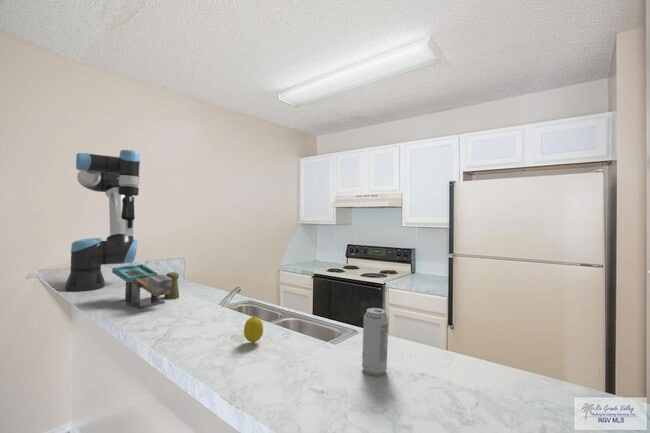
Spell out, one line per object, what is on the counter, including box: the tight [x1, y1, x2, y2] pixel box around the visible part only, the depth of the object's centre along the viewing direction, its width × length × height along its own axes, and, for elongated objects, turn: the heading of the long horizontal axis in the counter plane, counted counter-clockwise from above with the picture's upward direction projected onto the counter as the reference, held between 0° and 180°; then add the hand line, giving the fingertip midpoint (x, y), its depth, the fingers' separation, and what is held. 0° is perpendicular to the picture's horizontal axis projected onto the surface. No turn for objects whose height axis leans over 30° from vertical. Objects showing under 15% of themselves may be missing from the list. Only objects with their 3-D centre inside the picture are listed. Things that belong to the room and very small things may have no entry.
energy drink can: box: [361, 307, 389, 377], centre depth 79 cm, size 6×6×15 cm
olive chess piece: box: [163, 271, 180, 300], centre depth 140 cm, size 6×6×11 cm
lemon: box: [243, 315, 264, 344], centre depth 94 cm, size 6×6×8 cm
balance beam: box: [111, 264, 173, 297], centre depth 130 cm, size 12×27×7 cm, turn 59°
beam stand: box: [124, 281, 166, 310], centre depth 131 cm, size 10×16×9 cm, turn 59°
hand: (126, 234), depth 139 cm, fingers open, 13 cm apart
